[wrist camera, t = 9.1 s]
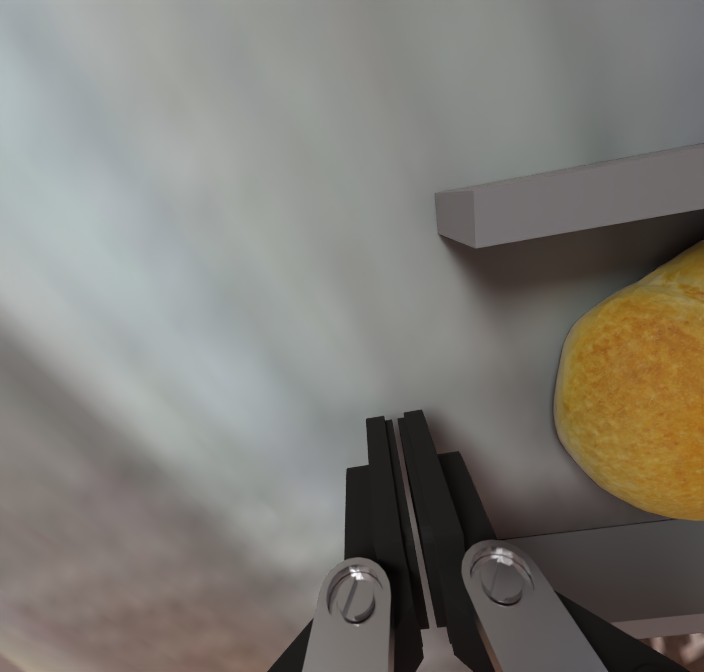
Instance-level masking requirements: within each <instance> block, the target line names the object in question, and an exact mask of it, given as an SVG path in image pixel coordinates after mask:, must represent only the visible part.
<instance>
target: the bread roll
mask: <svg viewBox="0 0 704 672" xmlns="http://www.w3.org/2000/svg"><path fill="white" fill-rule="evenodd" d="M553 416H554V422H555V427H556V431H557V435H558V437H559V440H560V442H561V443H562V444H563V446H564V447H565V449H566V451H567V452H568V453H569V454H570V455H571V457H572V458H573V460H574V461H575V462H576V463H577V464H578V465H579V466H580V467H581V469H582V470H583V471H584V472H585V473H586V474H587V475H588V476H589V477H590V478H592V479H593V480H594V481H595V482H596V483H597V484H598V485H599V487H601V488H603V489H604V490H606V491H607V492H609V493H611V494H612V495H614V496H616V497H618V498H620V499H622V500H623V501H626V502H627V503H629V504H631V505H633V506H635V507H637V508H639V509H641V510H644V511H647V512H650V513H654V514H658V515H662V516H666V517H669V518H674V519H685V520H693V521H704V240H701V241H700V242H698V243H697V244H695V245H693V246H692V247H690V248H688V249H686V250H684V251H683V252H681V253H680V254H679V255H677V256H676V257H674V258H673V259H672V260H670V261H668V262H666V263H664V264H663V265H661V266H659V267H657V269H656V270H655V271H653V272H652V273H650V274H648V275H647V276H646V277H644V278H643V279H642V280H639V281H637V282H635V283H633V284H631V285H629V286H626V287H624V288H622V289H620V290H618V291H617V292H615V293H613V294H611V295H610V296H609V297H607V298H606V299H604V300H603V301H601V302H599V303H598V304H597V305H596V306H595V307H593V308H592V309H590V310H589V311H587V312H586V313H585V314H584V315H583V316H582V317H581V318H580V319H579V320H578V321H577V322H576V323H575V324H574V325H573V326H572V328H571V330H570V332H569V333H568V335H567V337H566V340H565V342H564V344H563V348H562V353H561V358H560V363H559V369H558V374H557V381H556V388H555V394H554V406H553Z"/></svg>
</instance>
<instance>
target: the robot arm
mask: <svg viewBox="0 0 704 672" xmlns="http://www.w3.org/2000/svg"><path fill="white" fill-rule="evenodd" d="M398 424H399V430H400V436H401V441H402V447H403V453H404V459H405V464H406V470H407V476H408V482H409V487H410V493H411V498H412V503H413V508H414V513H415V518H416V523H417V528H418V533H419V539H420V544H421V549H422V554H423V559H424V564H425V569H426V574H427V579H428V584H429V589H430V594H431V599H432V604H433V609H434V614H435V619H436V624H437V628H438V627H446V628H447V632H448V637H449V641H450V644H452V647H453V651H454V655H455V656H456V657H458V658H459V659H460V660H461V661H462V662H463V663H464V664H465V665H467V666H468V667H469V668H470V669H471V670H472V671H473V672H690V671H688V670H687V669H685V668H684V667H682V666H681V665H679V664H677V663H676V662H674V661H672V660H671V659H669V658H667V657H666V656H664V655H662V654H660V653H659V652H657V651H655V650H654V649H652V648H650V647H649V646H647V645H645V644H644V643H642V642H640V641H639V640H637V639H635V638H634V637H632V636H630V635H629V634H627V633H625V632H624V631H622V630H620V629H619V628H617V627H615V626H614V625H612V624H610V623H609V622H607V621H605V620H604V619H602V618H600V617H599V616H597V615H595V614H593V613H592V612H590V611H588V610H587V609H585V608H583V607H582V606H580V605H578V604H577V603H575V602H573V601H572V600H570V599H568V598H567V597H565V596H563V595H562V594H560V593H558V592H557V591H555V590H553V589H552V587H551V586H550V584H549V583H548V581H547V580H546V578H545V577H544V575H543V574H542V572H541V571H540V569H539V568H538V566H537V565H536V564H535V562H534V561H533V560H532V559H531V558H530V557H529V555H528V554H527V553H525V552H524V551H522V550H521V549H520V548H518V547H517V546H515V545H512V544H510V543H508V542H505V541H500V540H497V538H496V536H495V533H494V531H493V529H492V526H491V524H490V522H489V519H488V517H487V515H486V512H485V510H484V508H483V505H482V503H481V501H480V498H479V496H478V493H477V491H476V489H475V486H474V484H473V482H472V479H471V477H470V475H469V472H468V470H467V468H466V465H465V463H464V461H463V458H462V456H461V454H460V453H459V451H457V452H450V453H444V454H437V453H436V450H435V447H434V444H433V441H432V438H431V435H430V432H429V429H428V426H427V423H426V420H425V417H424V414H423V411H422V410H416V411H410V412H404V418H398ZM366 428H367V444H368V460H369V465H365V466H359V467H352V468H347V472H346V509H345V555H344V561H343V562H341V563H339V564H337V565H336V566H335V567H334V568H333V569H332V570H330V572H329V573H328V575H327V576H326V578H325V579H324V581H323V583H322V586H321V589H320V592H319V596H318V601H317V605H316V610H315V615H314V618H313V619H312V620H311V621H310V622H309V624H308V625H307V626H306V627H305V628H304V629H303V631H302V632H301V633H300V634H299V635H298V636H297V638H296V639H295V640H294V641H293V642H292V643H291V645H290V646H289V647H288V648H287V649H286V650H285V652H284V653H283V654H282V655H281V656H280V657H279V659H278V660H277V661H276V662H275V663H274V664H273V666H272V667H271V668H270V669H269V670H268V671H267V672H416V670H417V669H418V667H419V665H420V663H421V662H422V660H423V658H424V656H423V650H422V647H423V643H422V637H421V631H420V630H421V629H429V623H428V617H427V612H426V606H425V601H424V595H423V590H422V584H421V578H420V573H419V567H418V562H417V556H416V551H415V545H414V540H413V534H412V528H411V523H410V517H409V512H408V506H407V501H406V495H405V490H404V484H403V479H402V473H401V468H400V462H399V456H398V451H397V445H396V440H395V434H394V429H393V423H392V420H386V421H385V419H384V416H380V417H373V418H367V419H366Z"/></svg>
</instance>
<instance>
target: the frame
mask: <svg viewBox="0 0 704 672" xmlns="http://www.w3.org/2000/svg"><path fill="white" fill-rule="evenodd" d="M435 202H436V215H437V228H438V234H440V235H443V236H446V237H448V238H451V239H453V240H456V241H458V242H461V243H463V244H466V245H468V246H471V247H473V248H482V247H487V246H493V245H499V244H504V243H510V242H516V241H522V240H527V239H533V238H539V237H545V236H550V235H556V234H562V233H567V232H573V231H579V230H585V229H590V228H596V227H602V226H608V225H613V224H619V223H625V222H630V221H636V220H642V219H648V218H653V217H659V216H665V215H671V214H676V213H682V212H688V211H693V210H699V209H704V143H702V144H697V145H691V146H686V147H681V148H675V149H670V150H665V151H659V152H654V153H648V154H643V155H638V156H632V157H627V158H622V159H616V160H611V161H606V162H600V163H595V164H589V165H584V166H579V167H573V168H568V169H563V170H557V171H552V172H547V173H541V174H536V175H531V176H525V177H520V178H514V179H509V180H504V181H498V182H493V183H488V184H482V185H477V186H472V187H466V188H461V189H455V190H450V191H445V192H439V193H435ZM500 541H505V542H508V543H510V544H512V545H515V546H517V547H518V548H520V549H521V550H522V551H524V552H525V553H527V554H528V555H529V557H530V558H531V559H532V560H533V561H534V562H535V564H536V565H537V566H538V568H539V569H540V571H541V572H542V574H543V575H544V577H545V578H546V580H547V581H548V583H549V584H550V586H551V587H552V589H553V590H555V591H557V592H558V593H560V594H562V595H563V596H565V597H567V598H568V599H570V600H572V601H573V602H575V603H577V604H578V605H580V606H582V607H583V608H585V609H587V610H588V611H590V612H592V613H593V614H595V615H597V616H599V617H600V618H602V619H604V620H605V621H607V622H609V623H610V624H612V625H614V626H615V627H617V628H619V629H620V630H622V631H624V632H625V633H627V634H629V635H630V636H632V637H634V638H635V639H643V638H653V637H663V636H674V635H684V634H694V633H704V521H693V520H685V519H676V520H667V521H659V522H650V523H642V524H634V525H625V526H617V527H608V528H600V529H592V530H583V531H575V532H566V533H558V534H550V535H541V536H533V537H524V538H516V539H508V540H500Z"/></svg>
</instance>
